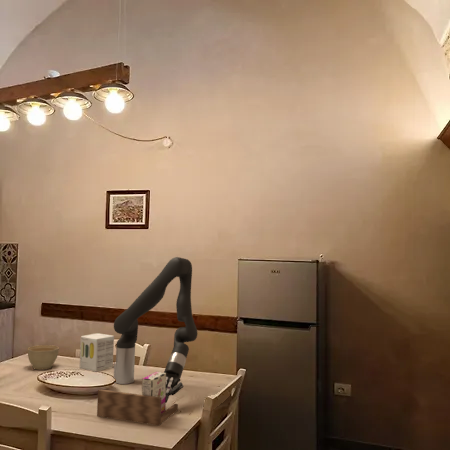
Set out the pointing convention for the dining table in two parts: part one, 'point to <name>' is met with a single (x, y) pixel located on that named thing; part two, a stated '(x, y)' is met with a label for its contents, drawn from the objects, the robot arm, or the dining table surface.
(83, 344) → the supplement box
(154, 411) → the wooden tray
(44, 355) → the planter bowl
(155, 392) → the candy bar box
